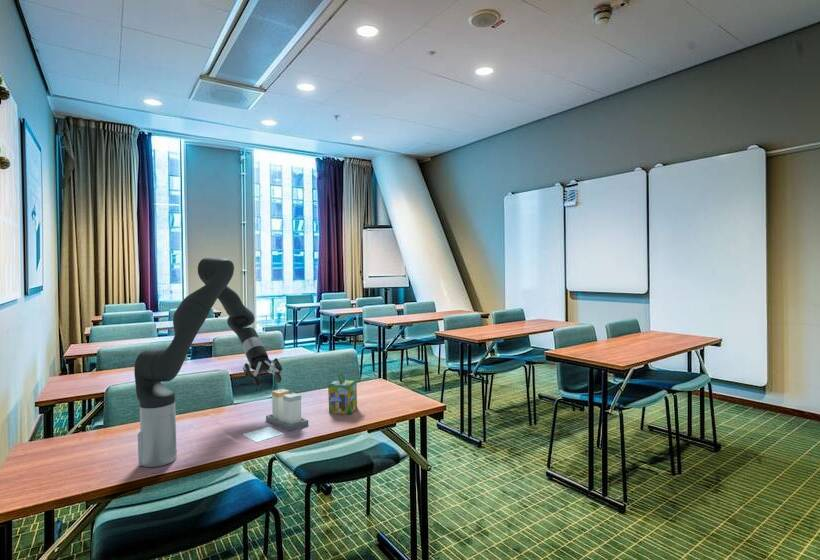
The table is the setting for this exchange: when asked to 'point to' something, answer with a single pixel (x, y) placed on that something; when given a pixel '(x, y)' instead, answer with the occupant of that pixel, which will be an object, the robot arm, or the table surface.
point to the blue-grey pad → (263, 434)
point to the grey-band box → (292, 408)
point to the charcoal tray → (285, 426)
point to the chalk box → (342, 396)
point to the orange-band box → (278, 404)
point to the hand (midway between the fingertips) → (269, 384)
